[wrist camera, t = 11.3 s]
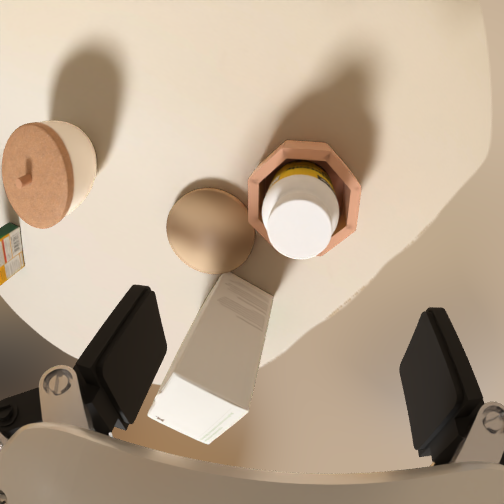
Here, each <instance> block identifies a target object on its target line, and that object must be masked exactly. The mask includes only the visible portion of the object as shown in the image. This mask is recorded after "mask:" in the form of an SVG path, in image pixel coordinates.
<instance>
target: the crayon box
mask: <svg viewBox="0 0 504 504" xmlns="http://www.w3.org/2000/svg"><path fill="white" fill-rule="evenodd" d="M24 266H25V264H24V260H23V253H22V245H21V236H20V227H18V226H16V225H14V224H12V223H10V222H9V223H7V224H6V225H4V226H3V227H1V228H0V285H2V284H3V283H4V282H5V281H7V280H8V279H9V278H10V277H12V276H13V275H14V274H15V273H17V272H18V271H19V270H20V269H22V268H23V267H24Z"/></svg>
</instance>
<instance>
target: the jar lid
mask: <svg viewBox="0 0 504 504" xmlns="http://www.w3.org/2000/svg"><path fill="white" fill-rule="evenodd" d="M166 228H167V236H168V240H169V243H170V245H171V247H172V249H173V251H174V252H175V254H176V255H177V256H178V257H179V258H180V259H181V260H182V261H183V262H184V263H185V264H186V265H188V266H189V267H191V268H193V269H195V270H197V271H200V272H203V273H208V274H223V273H227V272H230V271H232V270H234V269H236V268H238V267H239V266H241V265H242V264H243V263H244V262H245V260H246V259H247V258H248V256H249V254H250V252H251V250H252V247H253V244H254V240H255V228H254V227H253V226H252V225H251V224H250V223H249V222H248V209H247V208H246V207H245V205H244V204H243V203H242V202H241V201H240V200H239V199H237V198H236V197H235V196H233V195H232V194H230V193H228V192H226V191H223V190H220V189H216V188H200V189H196V190H193V191H191V192H189V193H187V194H186V195H184V196H183V197H182V198H180V199H179V200H178V201H177V202H176V203H175V204H174V206H173V207H172V209H171V210H170V212H169V215H168V219H167V226H166Z"/></svg>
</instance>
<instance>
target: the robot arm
mask: <svg viewBox="0 0 504 504" xmlns="http://www.w3.org/2000/svg"><path fill="white" fill-rule="evenodd" d="M166 351H167V343H166V339H165V335H164V331H163V327H162V323H161V318H160V314H159V309H158V305H157V300H156V296H155V292H154V291H151V289H150V287H148V286H142V285H133V286H132V287H131V288H130V289H129V291H128V292H127V293H126V294H125V296H124V297H123V298H122V300H121V301H120V302H119V304H118V305H117V306H116V308H115V309H114V310H113V312H112V313H111V314H110V316H109V317H108V318H107V320H106V321H105V323H104V324H103V325H102V327H101V328H100V329H99V331H98V332H97V334H96V335H95V336H94V338H93V339H92V341H91V342H90V343H89V345H88V346H87V348H86V349H85V351H84V352H83V354H82V355H81V356H80V358H79V359H78V361H77V362H76V365H75V366H74V368H73V369H72V368H71V367H68V366H65V365H59V366H55V367H52V368H50V369H49V370H47V371H46V372H45V373H44V374H43V376H42V377H41V379H40V382H39V388H35V389H33V390H30V391H27V392H24V393H21V394H18V395H15V396H12V397H8V398H6V399H3V400H1V401H0V504H504V406H503V405H502V404H500V403H497V402H488V403H485V404H484V401H483V396H482V393H481V391H480V388H479V386H478V383H477V380H476V378H475V375H474V373H473V370H472V368H471V365H470V363H469V361H468V358H467V356H466V354H465V351H464V349H463V347H462V344H461V342H460V340H459V338H458V336H457V334H456V331H455V330H454V327H453V325H452V323H451V321H450V319H449V317H448V315H447V313H446V311H445V309H444V308H433V307H432V308H431V307H430V308H428V309H427V310H426V312H423V313H422V314H421V317H420V319H419V322H418V324H417V327H416V329H415V332H414V334H413V336H412V339H411V341H410V344H409V346H408V348H407V351H406V353H405V355H404V357H403V359H402V362H401V364H400V376H401V381H402V385H403V390H404V395H405V400H406V405H407V410H408V415H409V420H410V426H411V432H412V438H413V444H414V448H415V449H416V450H418V453H419V457H424V456H430V455H431V456H432V461H433V462H432V464H431V465H430V467H422V468H415V469H406V470H396V471H387V472H386V471H385V472H372V473H350V474H349V473H348V474H315V473H293V472H292V473H291V472H277V471H267V470H258V469H249V468H242V467H235V466H228V465H222V464H216V463H210V462H205V461H200V460H195V459H190V458H186V457H181V456H177V455H173V454H169V453H165V452H161V451H157V450H154V449H150V448H147V447H143V446H139V445H136V444H132V443H129V442H126V441H122V440H120V439H116V438H113V436H112V434H111V432H112V430H113V428H114V427H117V428H120V429H123V430H127V427H128V425H129V424H132V423H133V422H134V421H135V419H136V417H137V414H138V412H139V410H140V408H141V406H142V403H143V401H144V399H145V397H146V395H147V393H148V390H149V388H150V386H151V384H152V382H153V380H154V378H155V375H156V373H157V371H158V369H159V367H160V365H161V363H162V361H163V359H164V356H165V354H166Z"/></svg>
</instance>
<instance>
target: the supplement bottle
mask: <svg viewBox="0 0 504 504" xmlns="http://www.w3.org/2000/svg"><path fill="white" fill-rule="evenodd" d="M262 219H263V223H264V226H265V228H266V230H267V233H268V237H269V240H270V242H271V244H272V245H273V247H274V248H275V249H276V250H277V251H278V252H280V253H281V254H283V255H285V256H287V257H289V258H293V259H307V258H311V257H314V256H316V255H318V254H319V253H321V252H322V251H323V250H324V249H325V248H326V247H327V245H328V244H329V242H330V240H331V236H332V234H333V233H334V231H335V229H336V227H337V224H338V220H339V205H338V200H337V197H336V194H335V191H334V187H333V184H332V181H331V179H330V177H329V175H328V173H327V172H326V171H325V169H324V168H322V167H321V166H320V165H319V164H317V163H315V162H313V161H310V160H303V159H299V160H293V161H290V162H288V163H286V164H285V165H283V166H282V167H281V168H280V169H279V170H278V171H277V172H276V174H275V176H274V177H273V180H272V182H271V184H270V186H269V189H268V191H267V193H266V196H265V198H264V201H263V206H262Z"/></svg>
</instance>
